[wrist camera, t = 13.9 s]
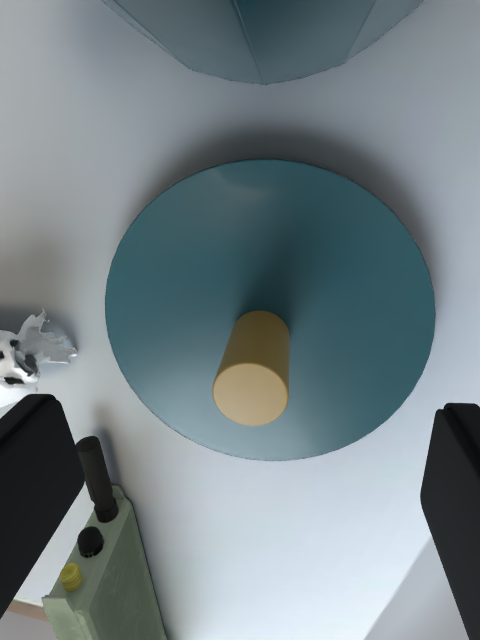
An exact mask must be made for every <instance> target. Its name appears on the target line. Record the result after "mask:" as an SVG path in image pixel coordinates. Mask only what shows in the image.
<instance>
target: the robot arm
mask: <svg viewBox="0 0 480 640" xmlns="http://www.w3.org/2000/svg"><path fill="white" fill-rule="evenodd" d="M84 482H85V472H84V469H83V466H82V463H81V461H80V458H79V455H78V452H77V449H76V446H75V443H74V440H73V437H72V434H71V431H70V428H69V425H68V423H67V420H66V417H65V414H64V411H63V408H62V405H61V403H60V402H59V401H58V400H56V398H55V397H54V396H53V395H51V394H28V395H26V396H25V397H24V398H22V399H21V400H20V401H19V402H18V403H17V404H16V405H15V406H14V407H13V408H12V409H10V410H9V411H8V412H7V413H6V414H5V415H4V416H3V417H2V418H1V419H0V619H1V617H2V616H3V614H4V613H5V611H6V609H7V608H8V606H9V605H10V603H11V601H12V600H13V598H14V597H15V595H16V593H17V592H18V590H19V589H20V587H21V585H22V584H23V582H24V581H25V579H26V577H27V576H28V574H29V573H30V571H31V569H32V568H33V566H34V565H35V563H36V561H37V560H38V558H39V557H40V555H41V553H42V552H43V550H44V548H45V547H46V545H47V544H48V542H49V540H50V539H51V537H52V536H53V534H54V532H55V531H56V529H57V528H58V526H59V524H60V523H61V521H62V520H63V518H64V516H65V515H66V513H67V512H68V510H69V508H70V507H71V505H72V504H73V502H74V500H75V499H76V497H77V496H78V494H79V492H80V491H81V489H82V487H83V485H84ZM420 498H421V505H422V509H423V512H424V515H425V518H426V521H427V523H428V526H429V529H430V532H431V534H432V537H433V540H434V543H435V545H436V548H437V551H438V554H439V556H440V559H441V562H442V565H443V568H444V571H445V573H446V576H447V579H448V582H449V585H450V587H451V590H452V593H453V596H454V598H455V601H456V604H457V607H458V610H459V612H460V615H461V618H462V621H463V623H464V626H465V629H466V632H467V635H468V637H469V640H480V407H479V406H478V405H477V404H471V403H447V404H446V405H445V406H444V409H438V410H437V411H436V414H435V419H434V424H433V429H432V434H431V440H430V445H429V450H428V456H427V461H426V466H425V471H424V477H423V482H422V487H421V494H420Z"/></svg>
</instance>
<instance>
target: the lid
mask: <svg viewBox="0 0 480 640" xmlns="http://www.w3.org/2000/svg"><path fill="white" fill-rule="evenodd" d="M435 315H436V313H435V300H434V291H433V287H432V283H431V278H430V274H429V270H428V268H427V266H426V263H425V261H424V258H423V256H422V253H421V251H420V249H419V247H418V246H417V244H416V242H415V241H414V239H413V237H412V236H411V234H410V232H409V231H408V229H407V228H406V227H405V226H404V224H403V223H402V222H401V221H400V220H399V219H398V217H397V216H396V215H395V214H394V213H393V211H392V210H391V209H389V208H388V207H387V206H386V205H385V204H384V203H383V202H381V201H380V200H379V199H378V198H377V197H376V196H375V195H373V194H372V193H370V192H369V191H367V190H366V189H364V188H363V187H361V186H360V185H358V184H356V183H355V182H353V181H352V180H350V179H347V178H345V177H343V176H341V175H339V174H336V173H334V172H332V171H330V170H327V169H324V168H320V167H317V166H313V165H310V164H307V163H303V162H296V161H289V160H281V159H248V160H242V161H235V162H228V163H224V164H221V165H217V166H214V167H211V168H207V169H204V170H201V171H199V172H197V173H195V174H193V175H191V176H189V177H186V178H184V179H182V180H180V181H179V182H177V183H176V184H174V185H173V186H171V187H170V188H168V189H167V190H165V191H164V192H162V193H161V194H160V195H159V196H157V197H156V198H155V199H154V200H153V201H152V202H151V203H150V204H149V205H147V206H146V207H145V208H144V209H143V211H142V212H141V213H140V214H139V215H138V217H137V218H136V219H135V220H134V221H133V223H132V224H131V225H130V227H129V228H128V230H127V232H126V233H125V235H124V237H123V238H122V240H121V242H120V244H119V246H118V248H117V251H116V253H115V256H114V258H113V260H112V264H111V267H110V271H109V275H108V279H107V286H106V296H105V317H106V325H107V331H108V337H109V340H110V344H111V347H112V350H113V353H114V356H115V358H116V361H117V363H118V365H119V367H120V370H121V372H122V373H123V375H124V377H125V378H126V380H127V382H128V383H129V385H130V387H131V388H132V389H133V391H134V392H135V393H136V395H137V396H138V397H139V399H140V400H141V401H142V402H143V403H144V404H145V405H146V406H147V407H148V408H149V409H150V411H151V412H152V413H153V414H154V415H156V416H157V417H158V418H159V419H160V420H162V421H163V422H164V423H165V424H166V425H168V426H169V427H171V428H172V429H174V430H175V431H177V432H178V433H179V434H181V435H183V436H184V437H186V438H188V439H190V440H192V441H194V442H196V443H197V444H200V445H202V446H205V447H207V448H209V449H212V450H214V451H218V452H221V453H224V454H228V455H231V456H236V457H241V458H246V459H253V460H264V461H287V460H297V459H305V458H309V457H314V456H319V455H323V454H326V453H329V452H332V451H335V450H338V449H340V448H343V447H345V446H347V445H349V444H351V443H354V442H356V441H357V440H359V439H361V438H362V437H364V436H366V435H367V434H369V433H371V432H372V431H374V430H375V429H376V428H377V427H379V426H380V425H381V424H383V423H384V422H385V421H386V420H388V419H389V418H390V417H391V416H392V415H393V414H394V413H395V412H396V411H397V410H398V409H399V408H400V406H401V405H402V404H403V403H404V401H405V400H406V399H407V397H408V396H409V395H410V393H411V392H412V391H413V389H414V387H415V385H416V384H417V382H418V380H419V378H420V377H421V375H422V373H423V370H424V368H425V365H426V363H427V360H428V357H429V354H430V350H431V346H432V342H433V337H434V328H435Z"/></svg>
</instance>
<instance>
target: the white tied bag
mask: <svg viewBox="0 0 480 640" xmlns="http://www.w3.org/2000/svg"><path fill="white" fill-rule="evenodd" d="M42 309H43V308H42ZM46 316H47V315H46V313H45V312H44V309H43V312H42V313H41V314H40V315H39V316H38V317H35V315H31V316H29V318H28V319H27V320H26V321H25V322H24V323H23V325H22V327H21V330H20V332H19V333H18V334H14V333H12V332H9V331H3V330H0V408H1V407H4V406H6V405H8V404H11V403H14V402H17V401H19V400H21V399H22V398H24V397H25V396H26V395H28V394H34V393H36V392H37V390H38V388H37V387H36V383H37V381H38V379H39V377H40V372H39V369H38V366H39V364H40V363H42V362H50V363H52V362H56V363H59V362H60V363H69V362H70V360H69V358H68V357H69V356H76V355H77V354H78V353H77V350H76V348H75V347H74V348H72V350H70V349H67V348H64V347H61V346H59V345H60V344H62V343H63V342H62V343H60V341H63V340H64V339H65V338H66V339H67V336H66V335H64V336H63V337H62V338H52V337H53V336H54V333H53V332H48V333H42V332H41V331H40V330H41V328H42V325H43V323H44V321H46V320H45V317H46ZM46 322H50V320H48V321H46Z"/></svg>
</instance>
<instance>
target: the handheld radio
mask: <svg viewBox="0 0 480 640" xmlns="http://www.w3.org/2000/svg"><path fill="white" fill-rule="evenodd" d="M75 446H76V449H77V452H78V455H79V458H80V461H81V463H82V466H83V469H84V472H85V482H86V485H87V488H88V491H89V495H90V498H91V500H92V501H93V502H94V504H95V506H94V511H93V513H92V514H91V516H90V518H89V520H88V522H87V524H86V526H85V528H84V529H83V530H82V531H81V532H80V534H79V536H78V539H77V543H76V545H75V547H74V549H73V551H72V553H71V554H70V556H69V558H68V560H67V562H66V564H65V566H64V568H63V569H62V571H61V573H60V575H59V577H58V579H57V581H56V583H55V585H54V587H53V589H52V591H51V593H50V595H45V597H42V602H43V609H44V611H45V613H46V615H47V618H48V620H49V622H50V624H51V626H52V628H53V630H54V633H55V635H56V637H57V639H58V640H167V638H166V636H165V632H164V628H163V624H162V620H161V616H160V612H159V608H158V604H157V601H156V597H155V593H154V589H153V585H152V581H151V577H150V573H149V569H148V566H147V562H146V558H145V554H144V550H143V546H142V542H141V538H140V534H139V531H138V527H137V523H136V519H135V515H134V511H133V507H132V504H131V503H130V502H129V500H128V499H126V498H125V496H124V494H123V491H122V489H121V487H120V486H115V485H111V482H110V478H109V475H108V471H107V467H106V464H105V460H104V456H103V453H102V449H101V445H100V441H99V439H98V438H97V437H95V436H89V437H85V438H83V439H81V440H80V441H79V442H78V443H77V444H76V445H75Z"/></svg>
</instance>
